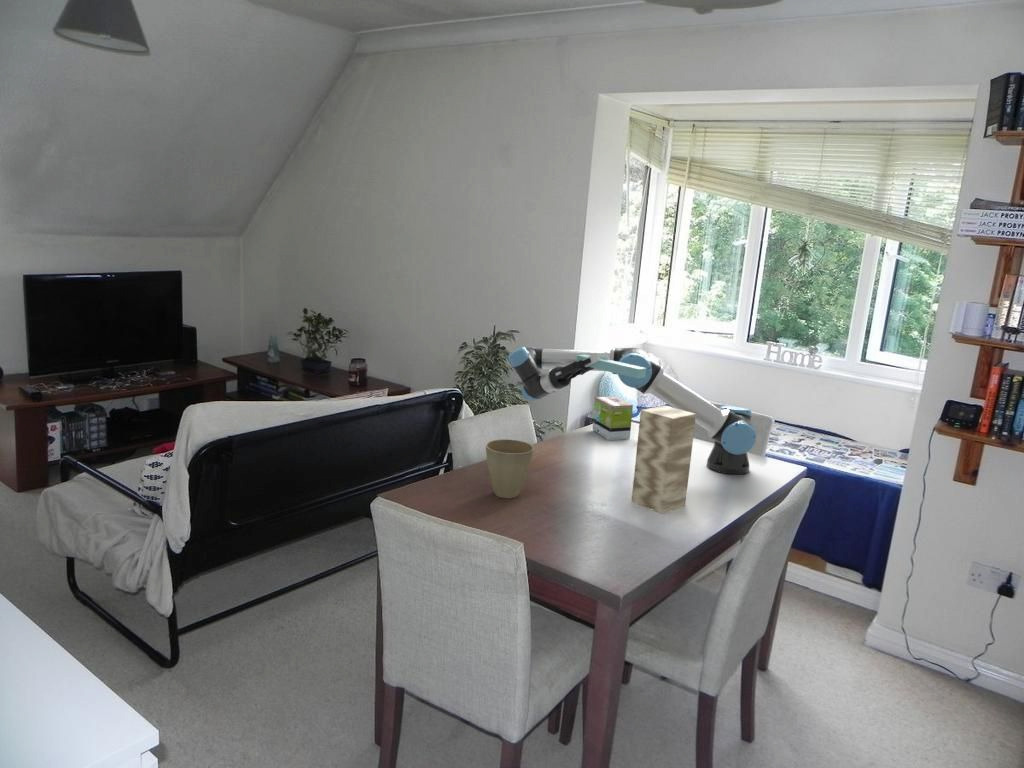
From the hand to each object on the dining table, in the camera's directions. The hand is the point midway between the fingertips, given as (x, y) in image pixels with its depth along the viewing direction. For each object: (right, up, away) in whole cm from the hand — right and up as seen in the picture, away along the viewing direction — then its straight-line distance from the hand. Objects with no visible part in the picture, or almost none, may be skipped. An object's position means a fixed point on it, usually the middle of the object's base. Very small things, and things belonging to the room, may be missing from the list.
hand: (603, 356), depth 258 cm
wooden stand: (+16, -47, -11) cm, 51 cm away
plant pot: (-32, -44, -11) cm, 56 cm away
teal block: (+2, -5, -2) cm, 5 cm away
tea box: (+11, -30, +66) cm, 74 cm away
